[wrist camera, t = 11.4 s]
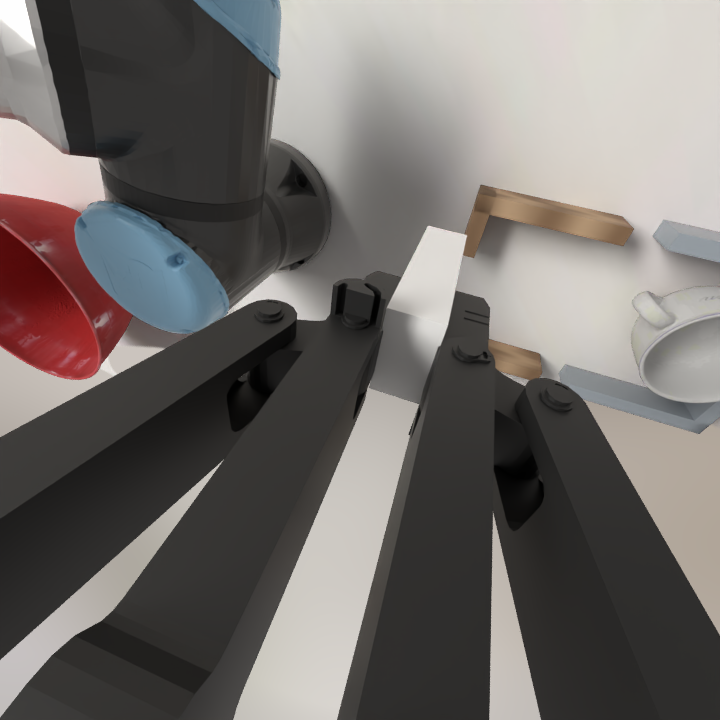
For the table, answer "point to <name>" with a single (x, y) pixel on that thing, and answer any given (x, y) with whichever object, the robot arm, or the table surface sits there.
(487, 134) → the table surface
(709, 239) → the dock
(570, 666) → the robot arm
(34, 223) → the mixing bowl
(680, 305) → the teacup
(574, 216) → the wooden u-shaped bracket
